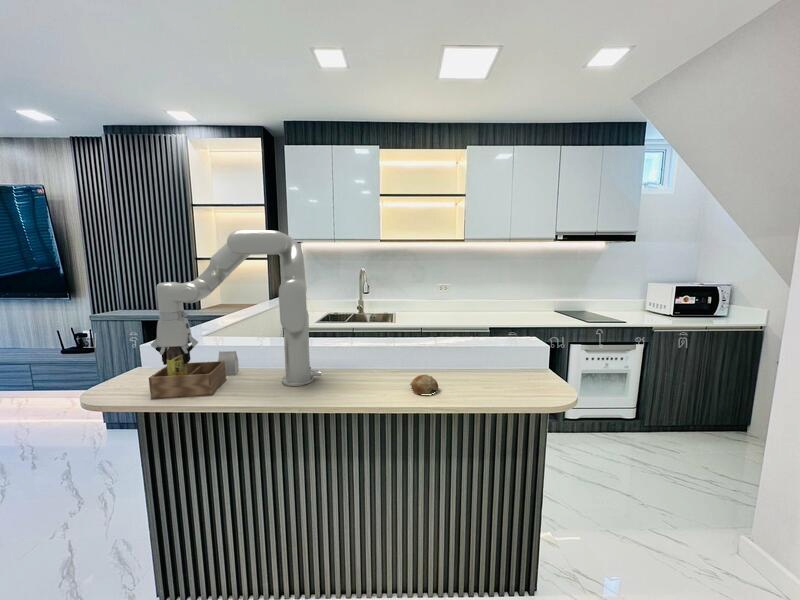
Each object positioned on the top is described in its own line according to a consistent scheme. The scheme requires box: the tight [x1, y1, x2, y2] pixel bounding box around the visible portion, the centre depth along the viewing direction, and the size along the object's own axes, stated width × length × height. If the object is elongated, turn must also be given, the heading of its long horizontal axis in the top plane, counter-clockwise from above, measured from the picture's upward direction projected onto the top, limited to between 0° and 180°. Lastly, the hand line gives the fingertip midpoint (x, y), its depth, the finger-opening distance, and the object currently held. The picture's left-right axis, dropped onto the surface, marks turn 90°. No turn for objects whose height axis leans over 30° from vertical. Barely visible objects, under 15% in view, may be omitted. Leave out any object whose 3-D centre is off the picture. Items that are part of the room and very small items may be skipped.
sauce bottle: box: [166, 347, 188, 376], centre depth 124 cm, size 6×6×20 cm
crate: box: [148, 360, 227, 400], centre depth 126 cm, size 20×15×8 cm
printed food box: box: [217, 350, 240, 376], centre depth 142 cm, size 4×7×10 cm, turn 94°
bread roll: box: [409, 374, 439, 395], centre depth 127 cm, size 10×10×8 cm
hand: (176, 362), depth 125 cm, fingers closed on sauce bottle, 6 cm apart
